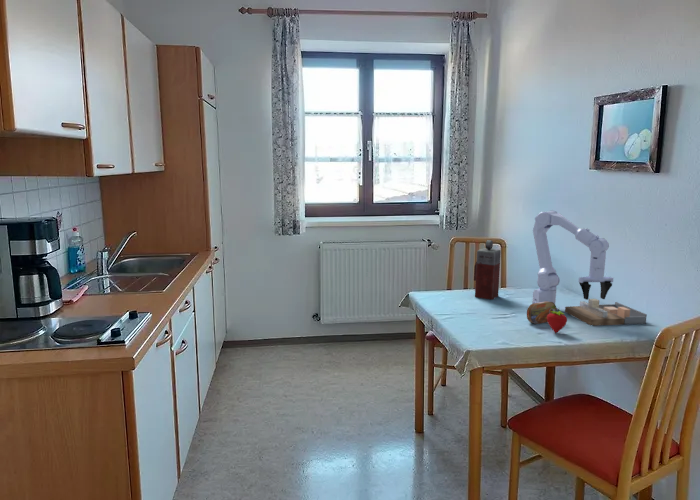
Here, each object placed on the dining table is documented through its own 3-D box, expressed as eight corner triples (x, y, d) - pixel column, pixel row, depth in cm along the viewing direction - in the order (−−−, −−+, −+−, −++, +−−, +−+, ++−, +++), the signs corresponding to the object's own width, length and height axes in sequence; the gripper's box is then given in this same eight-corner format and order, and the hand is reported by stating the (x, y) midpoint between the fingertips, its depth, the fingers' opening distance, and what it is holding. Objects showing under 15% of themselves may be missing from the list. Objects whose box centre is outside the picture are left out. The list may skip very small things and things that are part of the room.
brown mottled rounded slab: (530, 325, 216) (531, 305, 215) (524, 323, 219) (525, 303, 217) (556, 320, 223) (558, 301, 221) (550, 318, 226) (552, 299, 224)
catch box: (624, 324, 218) (625, 315, 218) (595, 311, 238) (596, 302, 237) (645, 323, 219) (646, 314, 219) (615, 310, 239) (616, 301, 238)
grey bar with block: (601, 318, 218) (602, 304, 217) (578, 307, 235) (579, 294, 234) (608, 317, 219) (609, 304, 218) (584, 306, 235) (585, 294, 234)
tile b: (609, 315, 230) (609, 309, 229) (603, 312, 234) (603, 306, 234) (619, 314, 230) (619, 309, 230) (612, 312, 235) (613, 306, 234)
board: (590, 325, 216) (591, 319, 216) (564, 312, 236) (565, 306, 235) (623, 324, 218) (624, 318, 218) (595, 311, 238) (595, 305, 237)
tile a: (624, 309, 222) (630, 309, 222) (617, 307, 226) (623, 306, 226) (623, 320, 222) (629, 320, 223) (616, 317, 227) (622, 317, 227)
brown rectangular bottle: (476, 292, 270) (479, 238, 265) (498, 296, 263) (501, 240, 259) (470, 296, 262) (472, 240, 258) (492, 299, 256) (495, 242, 252)
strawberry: (548, 328, 211) (550, 304, 210) (568, 332, 207) (570, 307, 205) (543, 332, 207) (545, 307, 205) (563, 336, 202) (565, 310, 201)
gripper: (586, 269, 219) (583, 301, 221) (619, 269, 220) (616, 300, 223) (576, 266, 225) (574, 297, 228) (608, 265, 227) (605, 296, 230)
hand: (594, 298), depth 226 cm, fingers open, 7 cm apart
